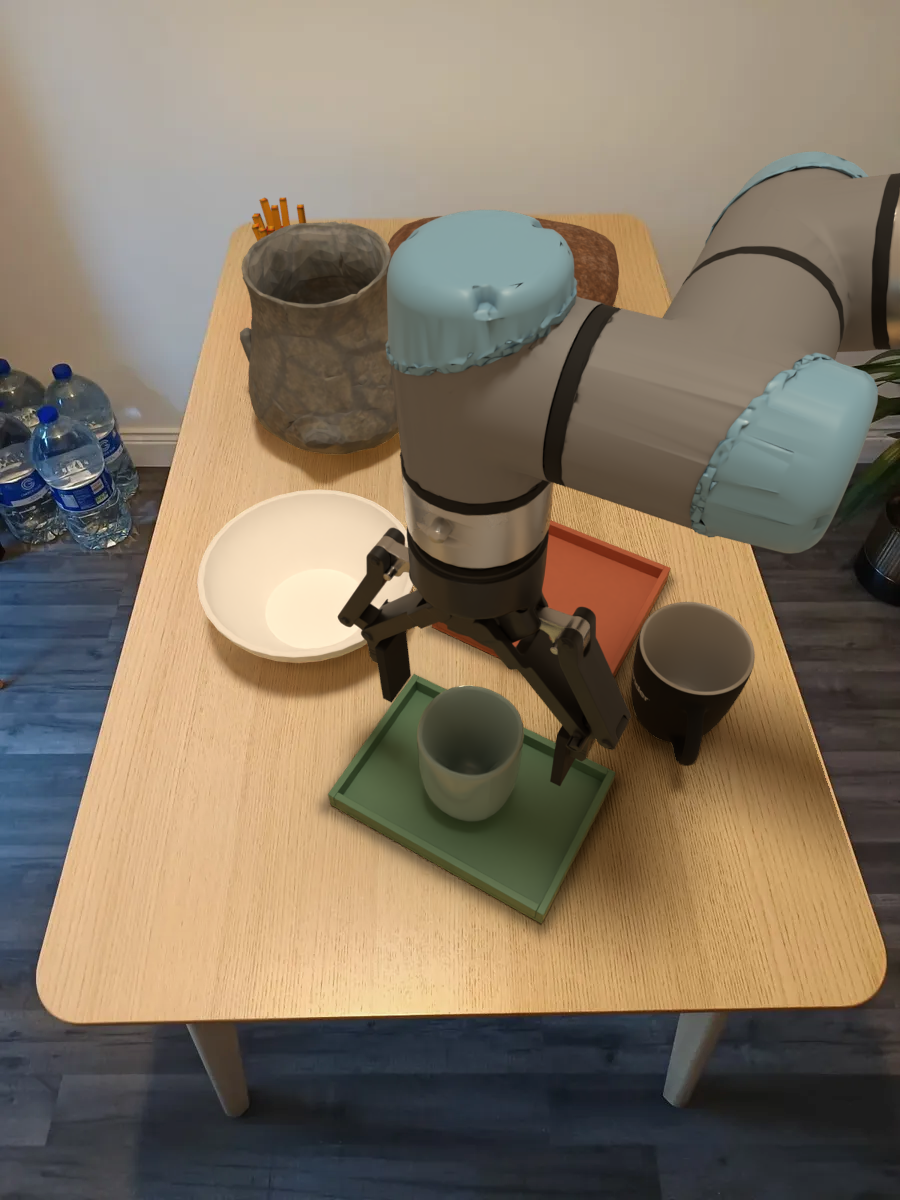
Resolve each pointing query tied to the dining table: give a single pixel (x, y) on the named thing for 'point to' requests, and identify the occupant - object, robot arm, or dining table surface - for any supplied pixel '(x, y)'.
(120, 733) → the dining table surface
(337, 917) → the dining table surface
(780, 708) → the dining table surface
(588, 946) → the dining table surface
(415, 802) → the green tray
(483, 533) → the robot arm
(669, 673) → the mug
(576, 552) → the terracotta tray
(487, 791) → the cup
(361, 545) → the bowl
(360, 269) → the vessel
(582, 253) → the bread
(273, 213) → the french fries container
